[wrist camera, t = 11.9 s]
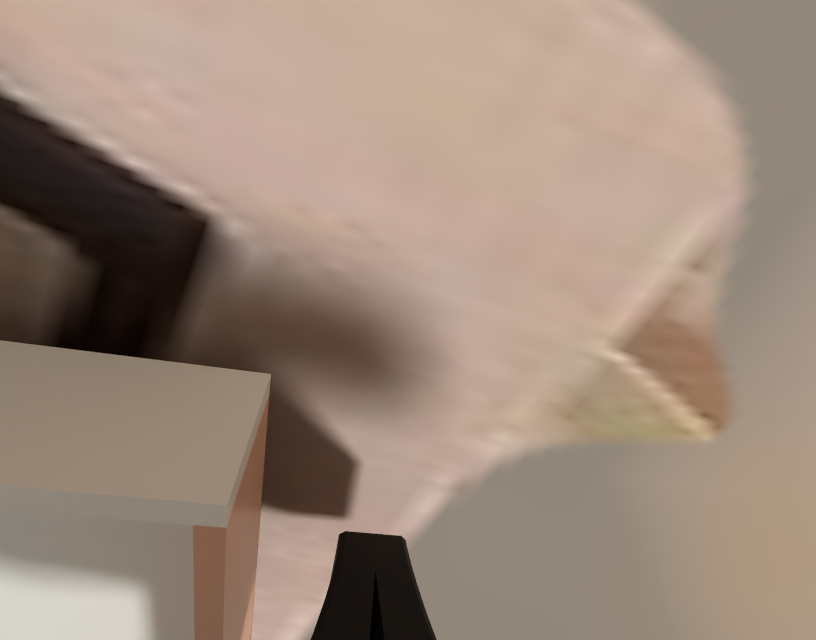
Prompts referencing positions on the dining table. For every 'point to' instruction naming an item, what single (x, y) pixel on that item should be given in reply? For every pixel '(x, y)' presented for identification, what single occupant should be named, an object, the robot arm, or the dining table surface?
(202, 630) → the tray
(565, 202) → the dining table surface
